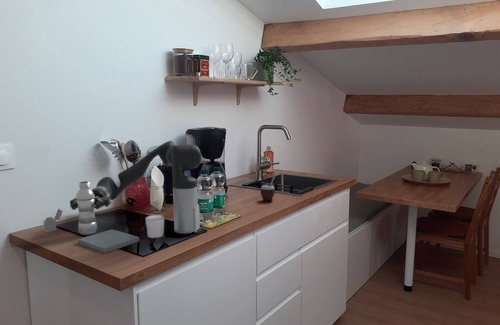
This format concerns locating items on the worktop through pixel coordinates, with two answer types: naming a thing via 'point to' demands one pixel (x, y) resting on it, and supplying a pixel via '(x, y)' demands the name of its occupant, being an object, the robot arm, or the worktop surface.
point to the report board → (108, 240)
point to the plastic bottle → (86, 209)
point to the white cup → (155, 226)
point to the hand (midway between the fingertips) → (84, 206)
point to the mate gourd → (268, 191)
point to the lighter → (52, 222)
